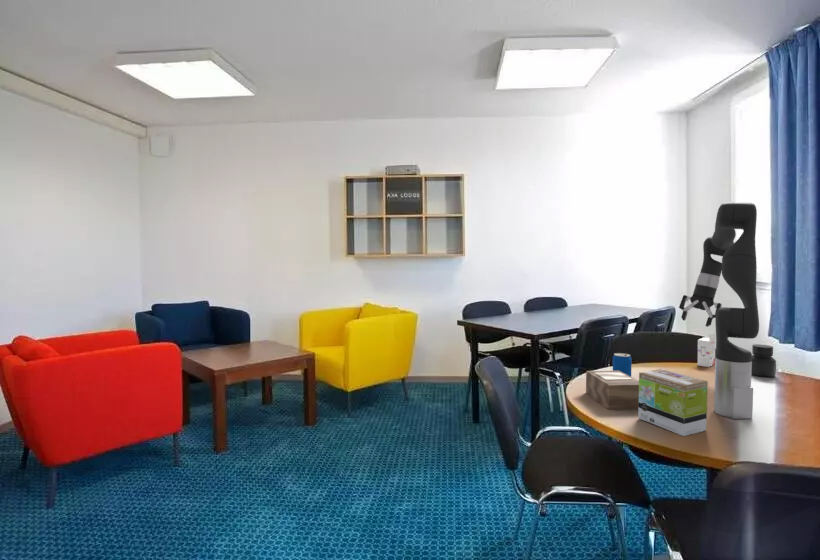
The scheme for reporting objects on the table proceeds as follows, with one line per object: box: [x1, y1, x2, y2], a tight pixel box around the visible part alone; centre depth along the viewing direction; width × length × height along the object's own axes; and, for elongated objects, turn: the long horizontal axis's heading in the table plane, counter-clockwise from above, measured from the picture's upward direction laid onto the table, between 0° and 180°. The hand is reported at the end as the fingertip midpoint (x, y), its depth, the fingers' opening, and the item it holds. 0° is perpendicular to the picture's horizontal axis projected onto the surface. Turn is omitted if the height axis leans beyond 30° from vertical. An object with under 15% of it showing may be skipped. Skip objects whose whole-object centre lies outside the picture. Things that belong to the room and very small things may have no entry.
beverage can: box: [612, 352, 632, 377], centre depth 174 cm, size 6×6×12 cm
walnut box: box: [585, 370, 639, 410], centre depth 157 cm, size 18×12×8 cm, turn 1°
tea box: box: [637, 368, 709, 437], centre depth 134 cm, size 15×10×15 cm
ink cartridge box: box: [697, 331, 716, 368], centre depth 205 cm, size 9×5×15 cm, turn 132°
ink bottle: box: [751, 343, 777, 378], centre depth 187 cm, size 10×9×12 cm
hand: (695, 323), depth 189 cm, fingers open, 8 cm apart
